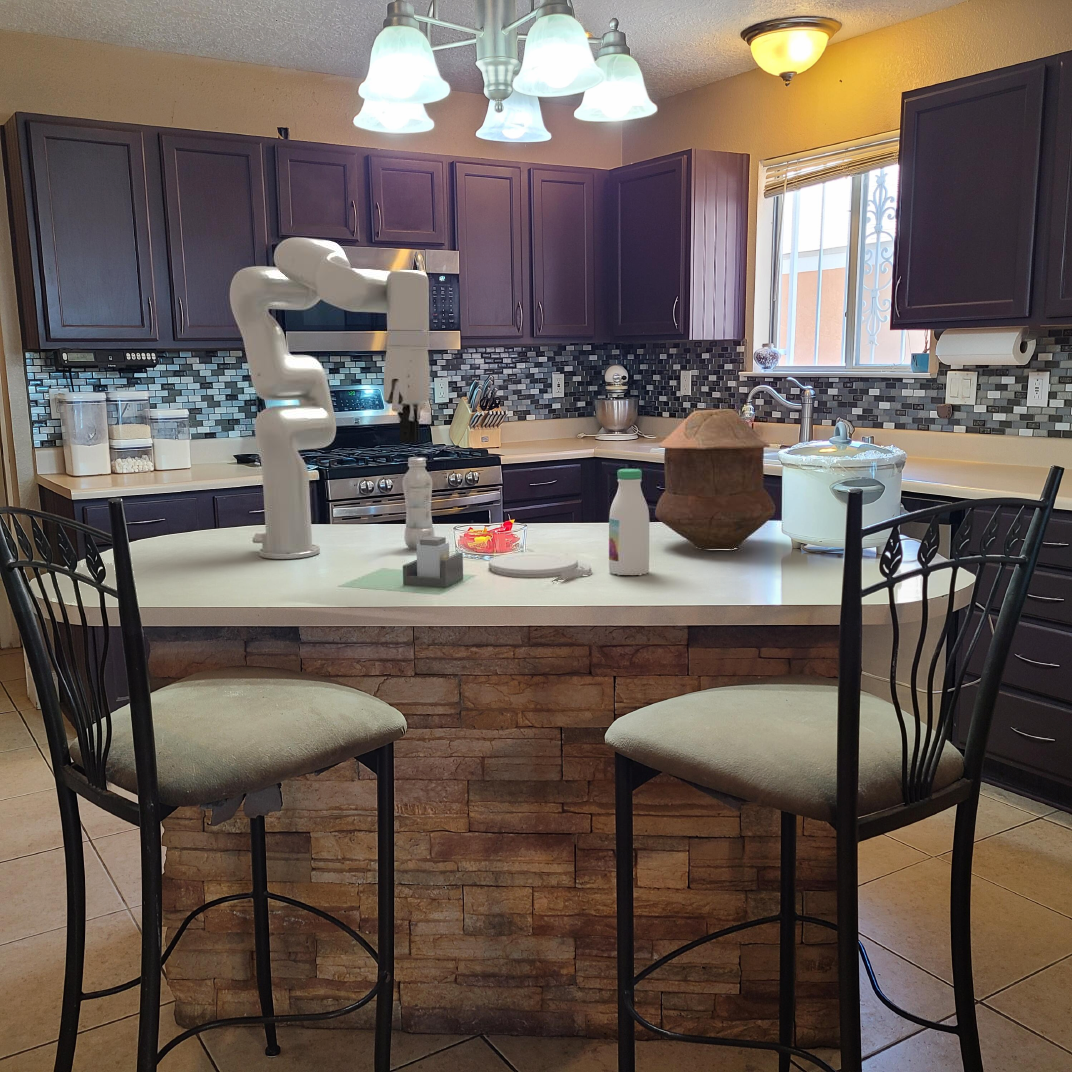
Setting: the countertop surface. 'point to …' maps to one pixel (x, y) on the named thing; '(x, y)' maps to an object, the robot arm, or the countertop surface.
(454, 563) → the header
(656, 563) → the countertop surface
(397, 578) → the board
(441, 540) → the plug
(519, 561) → the lid
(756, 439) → the pottery vessel
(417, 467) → the plastic bottle
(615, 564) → the milk bottle
